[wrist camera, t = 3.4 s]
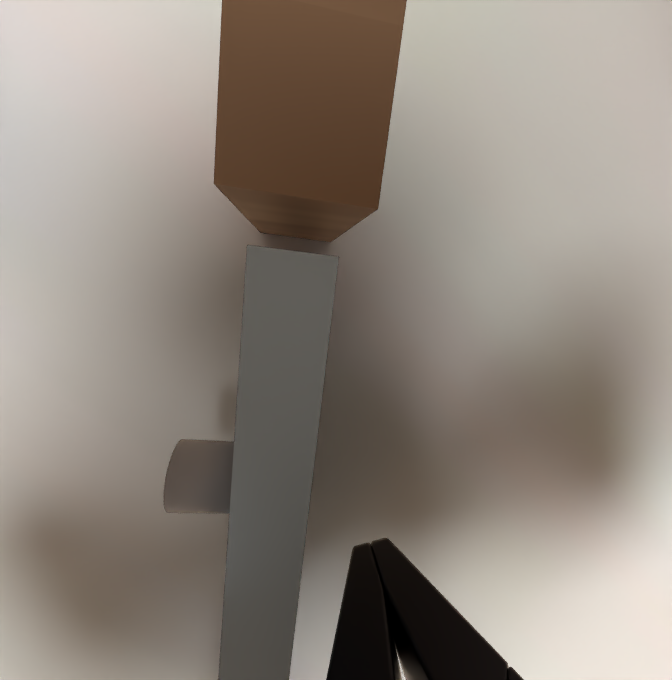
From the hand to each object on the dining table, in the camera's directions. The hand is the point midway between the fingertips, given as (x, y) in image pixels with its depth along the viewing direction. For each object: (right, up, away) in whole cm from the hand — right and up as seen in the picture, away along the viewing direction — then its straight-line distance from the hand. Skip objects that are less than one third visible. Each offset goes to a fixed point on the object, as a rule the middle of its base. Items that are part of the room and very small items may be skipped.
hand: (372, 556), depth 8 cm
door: (-3, +1, +1) cm, 3 cm away
